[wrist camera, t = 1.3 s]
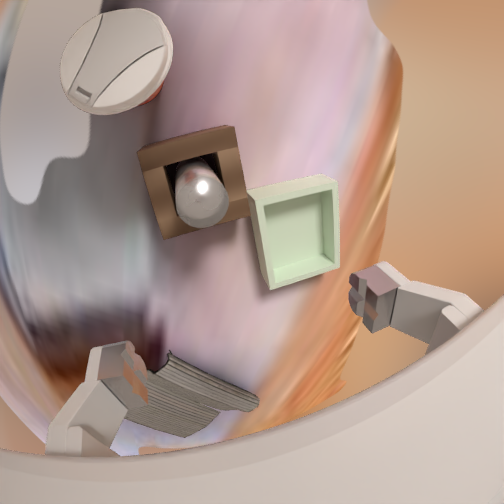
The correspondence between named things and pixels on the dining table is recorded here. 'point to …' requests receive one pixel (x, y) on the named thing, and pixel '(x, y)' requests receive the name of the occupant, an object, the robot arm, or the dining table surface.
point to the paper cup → (116, 61)
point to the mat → (187, 399)
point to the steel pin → (199, 194)
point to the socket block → (186, 147)
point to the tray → (296, 228)
